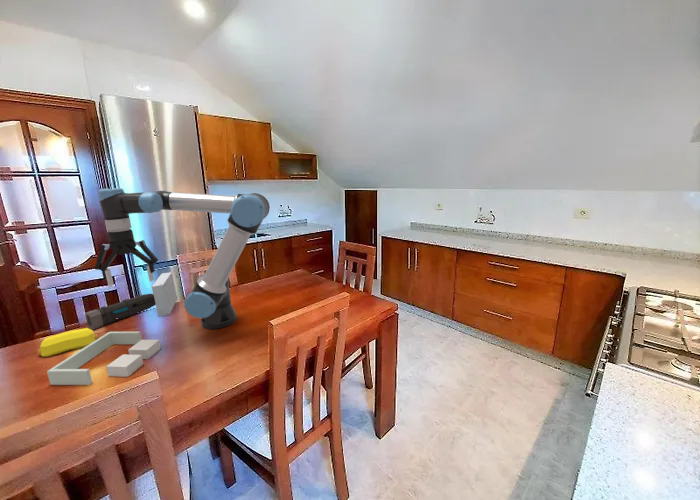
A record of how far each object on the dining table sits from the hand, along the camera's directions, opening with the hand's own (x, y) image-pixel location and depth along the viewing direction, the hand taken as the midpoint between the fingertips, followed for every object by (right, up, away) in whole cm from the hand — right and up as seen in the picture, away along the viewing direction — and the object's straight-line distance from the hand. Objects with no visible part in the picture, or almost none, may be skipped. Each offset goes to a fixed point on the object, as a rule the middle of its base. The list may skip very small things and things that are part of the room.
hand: (131, 283), depth 117 cm
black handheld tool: (-23, -20, +28) cm, 41 cm away
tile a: (+8, -27, -3) cm, 28 cm away
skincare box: (-9, -17, +38) cm, 42 cm away
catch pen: (-5, -28, -8) cm, 29 cm away
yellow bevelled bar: (-25, -26, +1) cm, 36 cm away
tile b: (+8, -29, -13) cm, 33 cm away
